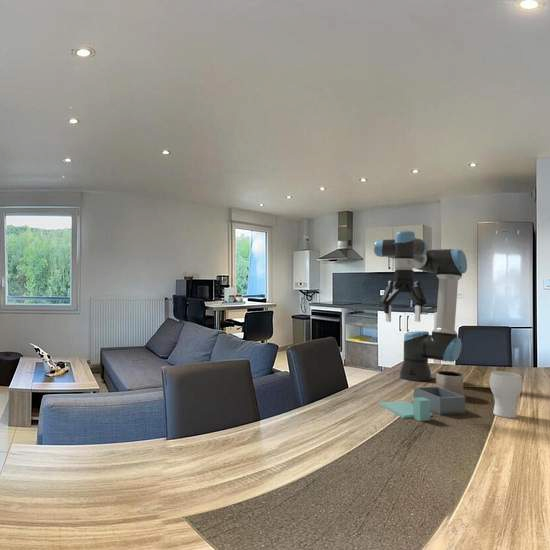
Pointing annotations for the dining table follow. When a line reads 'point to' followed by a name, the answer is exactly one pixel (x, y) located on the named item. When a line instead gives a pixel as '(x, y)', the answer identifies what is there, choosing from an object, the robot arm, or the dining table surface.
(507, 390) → the cup
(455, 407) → the tub
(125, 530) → the dining table surface
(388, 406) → the lid
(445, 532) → the dining table surface
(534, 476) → the dining table surface
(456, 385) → the planter
